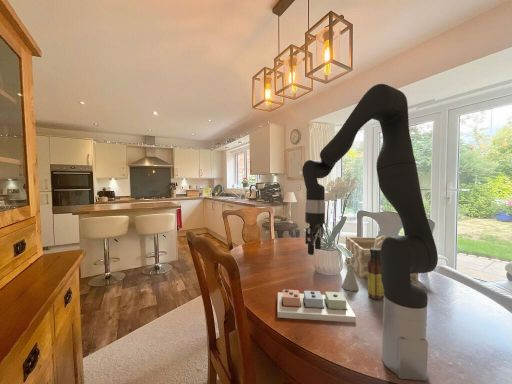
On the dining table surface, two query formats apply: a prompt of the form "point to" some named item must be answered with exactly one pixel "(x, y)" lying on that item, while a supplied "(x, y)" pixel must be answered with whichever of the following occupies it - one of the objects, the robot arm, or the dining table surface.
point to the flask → (350, 279)
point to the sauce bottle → (375, 275)
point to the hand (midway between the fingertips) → (314, 251)
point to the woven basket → (363, 254)
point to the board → (315, 311)
